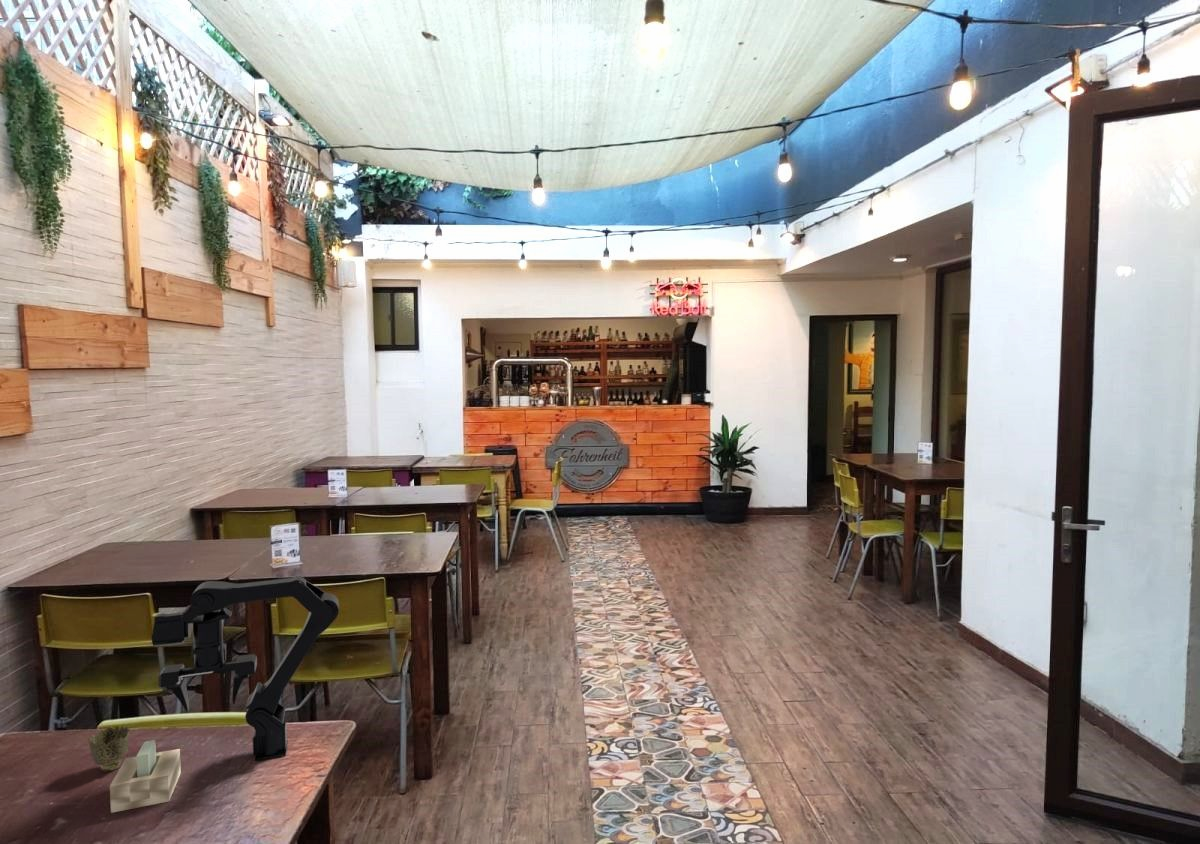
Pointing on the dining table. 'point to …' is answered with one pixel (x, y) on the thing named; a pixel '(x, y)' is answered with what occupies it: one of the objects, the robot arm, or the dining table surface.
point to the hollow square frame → (145, 782)
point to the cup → (109, 747)
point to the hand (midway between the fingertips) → (211, 706)
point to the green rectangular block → (146, 759)
